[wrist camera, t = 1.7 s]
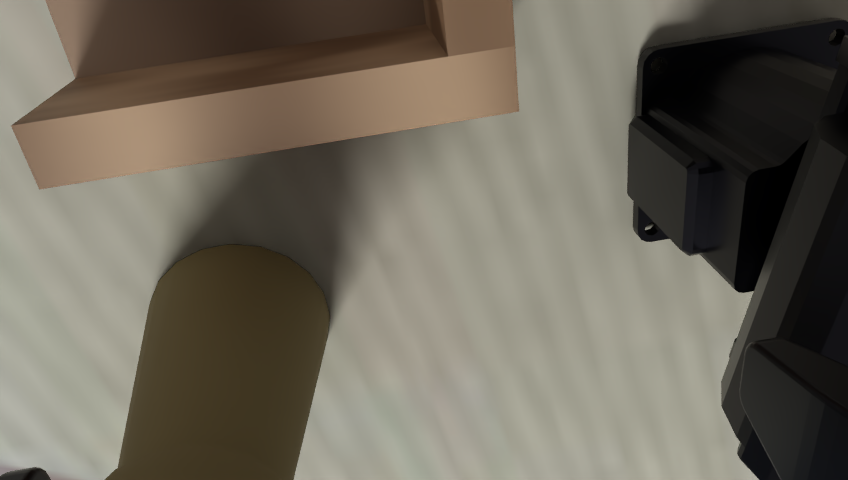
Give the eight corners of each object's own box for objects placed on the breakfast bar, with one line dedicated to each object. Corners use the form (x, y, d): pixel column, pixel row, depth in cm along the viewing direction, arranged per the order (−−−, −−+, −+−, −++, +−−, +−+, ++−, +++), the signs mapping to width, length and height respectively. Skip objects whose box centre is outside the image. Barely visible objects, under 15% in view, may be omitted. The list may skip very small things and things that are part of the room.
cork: (136, 373, 23) (-5, 717, 14) (164, 224, 21) (14, 515, 11) (306, 403, 25) (287, 731, 15) (350, 267, 22) (362, 556, 13)
